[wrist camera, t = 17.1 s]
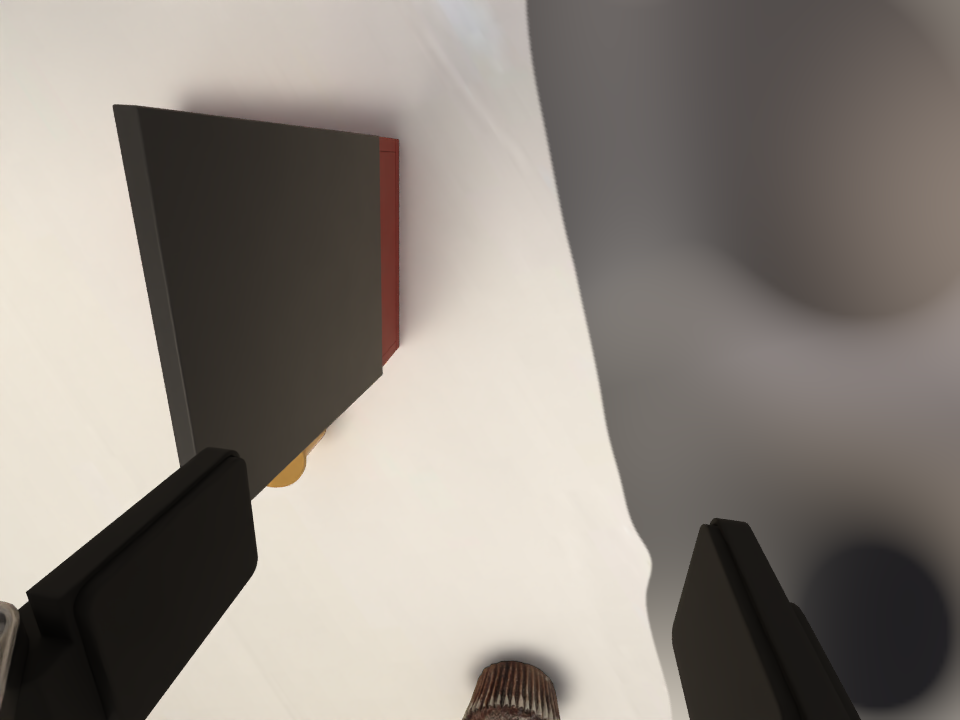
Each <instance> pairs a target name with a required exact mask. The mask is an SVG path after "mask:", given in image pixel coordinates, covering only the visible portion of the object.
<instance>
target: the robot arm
mask: <svg viewBox="0 0 960 720" xmlns="http://www.w3.org/2000/svg"><path fill="white" fill-rule="evenodd" d="M257 561H258V554H257V546H256V538H255V530H254V522H253V514H252V506H251V498H250V490H249V482H248V474H247V466H246V462H245V460H244V459H242V458H240V455H239V454H238V452H237V451H235V450H230V449H223V448H216V447H206V448H205V449H203V450H202V451H200V452H199V453H198V454H197V455H195V456H194V457H193V458H192V459H190V460H189V461H188V462H187V463H186V464H184V465H183V466H182V467H181V468H179V469H178V470H177V471H176V472H174V473H173V474H172V475H171V476H169V477H168V478H167V479H166V480H164V481H163V482H162V483H161V484H159V485H158V486H157V487H156V488H155V489H153V490H152V491H151V492H150V493H148V494H147V495H146V496H145V497H143V498H142V499H141V500H140V501H138V502H137V503H136V504H135V505H133V506H132V507H131V508H130V509H128V510H127V511H126V512H125V513H124V514H122V515H121V516H120V517H119V518H117V519H116V520H115V521H114V522H112V523H111V524H110V525H109V526H107V527H106V528H105V529H104V530H102V531H101V532H100V533H99V534H97V535H96V536H95V537H94V538H92V539H91V540H90V541H89V542H88V543H86V544H85V545H84V546H83V547H81V548H80V549H79V550H78V551H76V552H75V553H74V554H73V555H71V556H70V557H69V558H68V559H66V560H65V561H64V562H63V563H61V564H60V565H59V566H58V567H57V568H55V569H54V570H53V571H52V572H50V573H49V574H48V575H47V576H45V577H44V578H43V579H42V580H40V581H39V582H38V583H37V584H35V585H34V586H33V587H32V588H30V589H29V590H28V591H27V592H26V594H27V597H28V599H29V601H28V602H27V603H26V604H24V605H23V606H22V607H21V608H20V609H18V610H17V608H16V607H15V606H14V605H13V604H10V603H7V602H3V601H0V720H145V719H146V718H147V716H148V715H149V714H150V712H151V711H152V710H153V708H154V707H155V706H156V704H157V703H158V702H159V700H160V699H161V698H162V696H163V695H164V694H165V692H166V691H167V689H168V688H169V687H170V685H171V684H172V683H173V681H174V680H175V679H176V677H177V676H178V675H179V673H180V672H181V671H182V669H183V668H184V667H185V665H186V664H187V663H188V661H189V660H190V659H191V657H192V656H193V654H194V653H195V652H196V650H197V649H198V648H199V646H200V645H201V644H202V642H203V641H204V640H205V638H206V637H207V636H208V634H209V633H210V632H211V630H212V629H213V628H214V626H215V625H216V624H217V622H218V621H219V620H220V618H221V617H222V615H223V614H224V613H225V611H226V610H227V609H228V607H229V606H230V605H231V603H232V602H233V601H234V599H235V598H236V597H237V595H238V594H239V593H240V591H241V590H242V589H243V587H244V586H245V585H246V583H247V582H248V580H249V579H250V578H251V576H252V575H253V573H254V571H255V569H256V566H257ZM672 644H673V649H674V653H675V658H676V662H677V666H678V670H679V675H680V679H681V683H682V688H683V692H684V696H685V700H686V705H687V709H688V713H689V718H690V720H861V719H860V717H859V715H858V713H857V711H856V710H855V708H854V706H853V704H852V702H851V700H850V698H849V697H848V695H847V693H846V691H845V689H844V688H843V685H842V684H841V682H840V680H839V678H838V676H837V675H836V673H835V671H834V669H833V667H832V665H831V663H830V661H829V660H828V658H827V656H826V654H825V652H824V650H823V648H822V647H821V645H820V643H819V641H818V639H817V637H816V636H815V634H814V632H813V630H812V628H811V626H810V624H809V623H808V621H807V619H806V617H805V615H804V614H803V612H802V611H801V609H800V608H799V607H798V606H797V605H795V604H794V603H790V602H789V600H788V599H787V597H786V595H785V593H784V591H783V589H782V587H781V585H780V583H779V581H778V580H777V577H776V576H775V574H774V572H773V570H772V568H771V566H770V564H769V562H768V560H767V558H766V556H765V554H764V553H763V551H762V549H761V547H760V545H759V543H758V541H757V539H756V537H755V535H754V533H753V531H752V530H751V528H750V526H749V525H748V524H747V523H746V522H740V521H734V520H727V519H719V518H714V519H713V520H712V521H711V523H710V525H707V524H703V525H702V526H701V527H700V530H699V533H698V537H697V541H696V544H695V548H694V551H693V555H692V558H691V562H690V566H689V569H688V573H687V577H686V580H685V584H684V587H683V591H682V594H681V598H680V602H679V605H678V609H677V612H676V616H675V620H674V623H673V628H672Z"/></svg>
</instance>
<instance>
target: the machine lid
mask: <svg viewBox="0 0 960 720" xmlns="http://www.w3.org/2000/svg"><path fill="white" fill-rule="evenodd" d="M113 112H114V117H115V122H116V127H117V133H118V138H119V143H120V149H121V154H122V159H123V165H124V170H125V175H126V181H127V186H128V191H129V197H130V202H131V207H132V213H133V218H134V223H135V229H136V234H137V239H138V245H139V250H140V255H141V261H142V266H143V271H144V277H145V282H146V287H147V292H148V298H149V303H150V308H151V314H152V319H153V324H154V330H155V335H156V340H157V346H158V351H159V356H160V362H161V367H162V372H163V378H164V383H165V388H166V394H167V399H168V404H169V410H170V415H171V420H172V426H173V431H174V436H175V442H176V447H177V452H178V457H179V463H180V468H181V467H182V466H183V465H184V464H186V463H187V462H188V461H189V460H190V459H192V458H193V457H194V456H195V455H197V454H198V453H199V452H200V451H202V450H203V449H205V448H206V447H216V448H223V449H230V450H235V451H237V452H238V454H239V455H240V458H242V459H244V460H245V462H246V466H247V474H248V482H249V490H250V498H251V500H252V499H253V498H254V497H255V496H257V495H258V494H259V493H260V492H261V491H262V490H263V489H264V488H265V487H266V486H267V485H268V484H269V483H270V482H271V481H272V480H273V479H274V478H275V477H276V476H277V475H278V474H279V473H281V472H282V471H283V470H284V469H285V468H286V467H287V466H288V465H289V464H290V463H291V462H292V461H293V460H294V459H295V458H296V457H297V456H298V455H299V454H300V453H301V452H302V451H303V450H304V449H306V448H307V447H308V446H309V445H310V444H311V443H312V442H313V441H314V440H315V439H316V438H317V437H318V436H319V435H320V434H321V433H322V432H323V431H324V430H325V429H326V428H327V427H328V426H329V425H331V424H332V423H333V422H334V421H335V420H336V419H337V418H338V417H339V416H340V415H341V414H342V413H343V412H344V411H345V410H346V409H347V408H348V407H349V406H350V405H351V404H352V403H353V402H354V401H356V400H357V399H358V398H359V397H360V396H361V395H362V394H363V393H364V392H365V391H366V390H367V389H368V388H369V387H370V386H371V385H372V384H373V383H374V382H375V381H376V380H377V379H378V378H379V377H381V376H382V374H383V370H382V297H381V224H380V150H379V136H375V135H367V134H359V133H351V132H343V131H335V130H327V129H319V128H312V127H304V126H296V125H288V124H280V123H272V122H264V121H256V120H248V119H240V118H232V117H224V116H216V115H208V114H200V113H193V112H185V111H177V110H169V109H161V108H153V107H145V106H137V105H119V104H115V105H113Z"/></svg>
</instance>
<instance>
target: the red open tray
mask: <svg viewBox="0 0 960 720" xmlns="http://www.w3.org/2000/svg"><path fill="white" fill-rule="evenodd" d="M379 150H380V224H381V297H382V367H383V366H384V364H385V363H386V362H387V361H388V360H389V358H390V357H391V356H392V355H393V354H394V352H395V351H396V350H397V349H398V348H399V140H398V139H393V138H386V137H379Z"/></svg>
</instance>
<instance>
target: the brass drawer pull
mask: <svg viewBox="0 0 960 720" xmlns="http://www.w3.org/2000/svg"><path fill="white" fill-rule="evenodd" d="M325 431H326V429H325V430H324V431H323V432H322V433H321V434H320V435H319V436H318V437H317V438H316V439H315V440H314V441H313V442H312V443H311V444H310V445H309V446H308V447H307V448H306V449H304V450H303V451H302V452H301V453H300V454H299V455H298V456H297V457H296V458H295V459H294V460H293V461H292V462H291V463H290V464H289V465H288V466H287V467H286V468H285V469H284V470H283V471H282V472H281V473H279V474H278V475H277V476H276V477H275V478H274V479H273V480H272V481H271V482H270V483H269V484H268V485H267V486H268V487H285V486H288V485H291V484H293V483H294V482H296V481H297V480H298V479H299V478H300V476H301V475H302V474H303V472H304V470H305V467H306V457H307V455H308V454H309V453H310V452H311V451H312V449H313V448H314V447H315V446H316V445H317V443H318V442H319V441H320V440H321V439H322V437H323V436H324V434H325Z"/></svg>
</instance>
